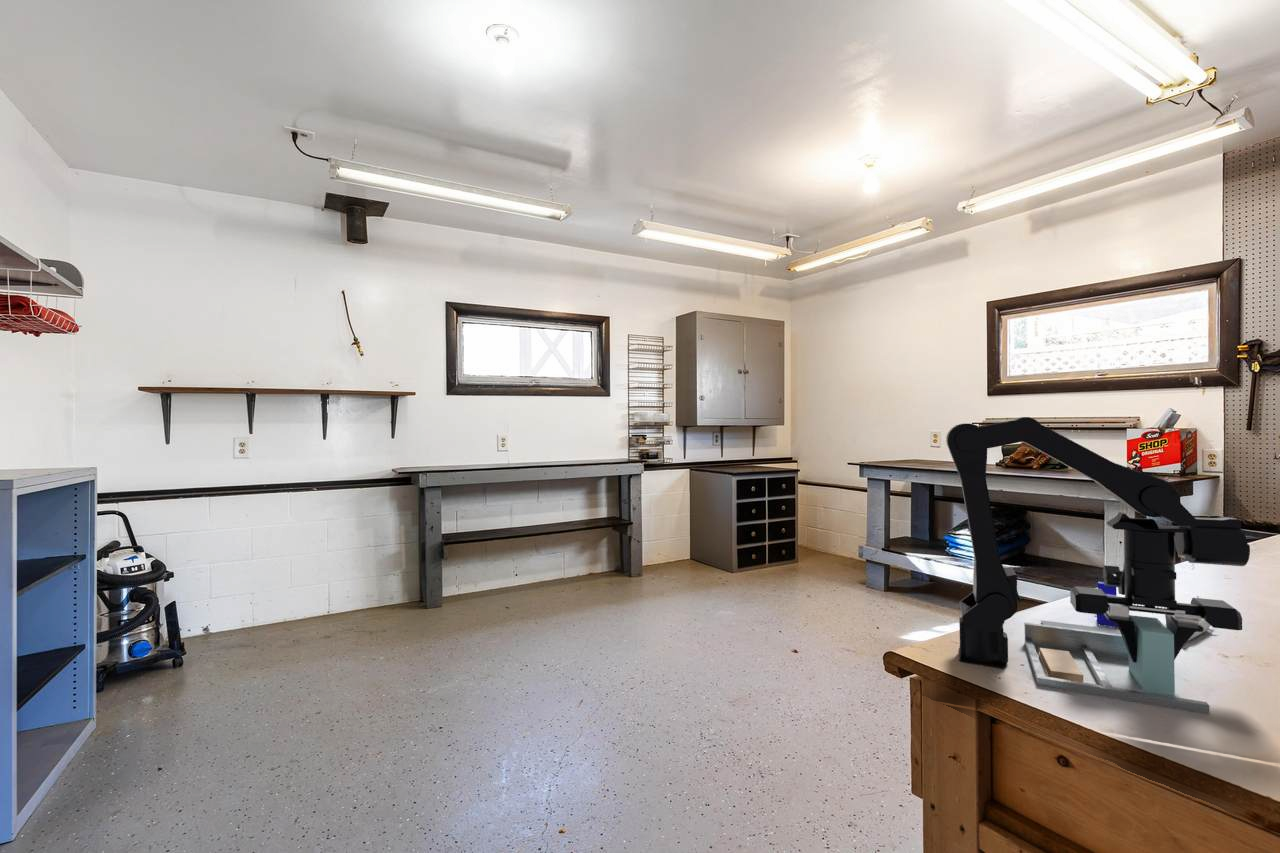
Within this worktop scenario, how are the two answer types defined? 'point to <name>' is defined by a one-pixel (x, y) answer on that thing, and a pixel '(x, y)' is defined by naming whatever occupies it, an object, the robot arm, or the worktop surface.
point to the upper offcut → (1060, 665)
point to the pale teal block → (1153, 656)
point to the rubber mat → (1081, 627)
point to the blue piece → (1109, 592)
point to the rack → (1094, 665)
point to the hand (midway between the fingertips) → (1150, 663)
